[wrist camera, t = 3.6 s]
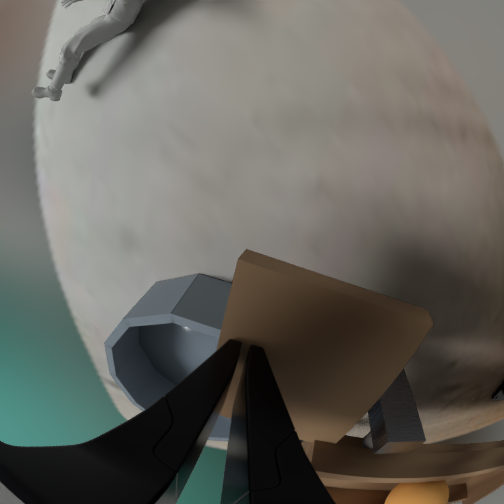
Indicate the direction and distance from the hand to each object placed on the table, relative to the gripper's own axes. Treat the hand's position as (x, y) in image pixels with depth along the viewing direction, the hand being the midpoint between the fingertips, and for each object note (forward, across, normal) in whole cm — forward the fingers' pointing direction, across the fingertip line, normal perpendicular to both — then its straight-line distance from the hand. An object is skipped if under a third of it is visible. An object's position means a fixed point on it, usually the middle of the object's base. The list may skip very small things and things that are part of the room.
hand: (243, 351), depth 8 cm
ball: (-4, -12, +7) cm, 14 cm away
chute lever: (0, -10, +4) cm, 11 cm away
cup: (+6, +2, +7) cm, 10 cm away
